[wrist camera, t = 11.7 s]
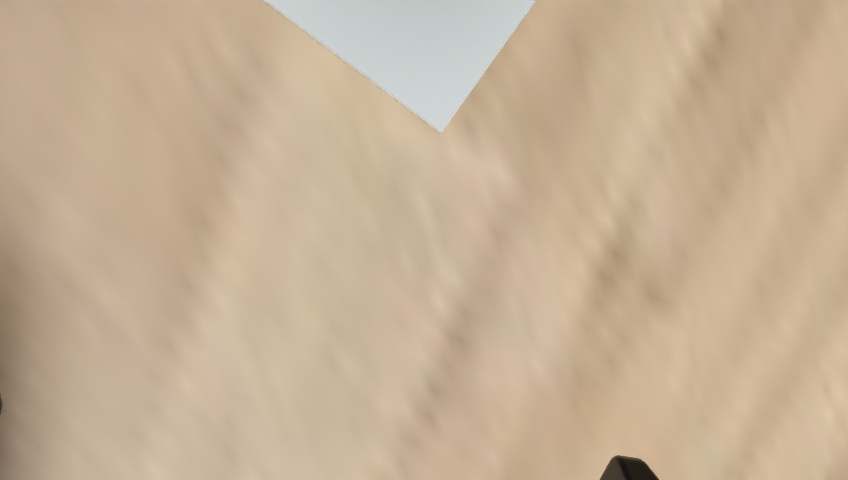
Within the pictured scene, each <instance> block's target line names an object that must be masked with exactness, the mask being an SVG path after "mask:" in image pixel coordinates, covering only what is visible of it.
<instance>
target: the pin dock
mask: <svg viewBox="0 0 848 480" xmlns="http://www.w3.org/2000/svg"><path fill="white" fill-rule="evenodd" d="M263 1H264V2H265V3H267V4H268V5H269V6H271V7H272V8H273V9H275V10H276V11H277V12H279V13H280V14H281V15H283V16H284V17H285V18H287V19H288V20H289V21H291V22H292V23H293V24H295V25H296V26H297V27H299V28H300V29H301V30H303V31H304V32H305V33H307V34H308V35H309V36H311V37H312V38H313V39H315V40H316V41H317V42H319V43H320V44H322V45H323V46H324V47H326V48H327V49H328V50H330V51H331V52H332V53H334V54H335V55H336V56H338V57H339V58H340V59H342V60H343V61H344V62H346V63H347V64H348V65H350V66H351V67H352V68H354V69H355V70H356V71H358V72H359V73H360V74H362V75H363V76H364V77H366V78H367V79H368V80H370V81H371V82H372V83H374V84H375V85H376V86H378V87H379V88H380V89H382V90H383V91H384V92H386V93H387V94H388V95H390V96H391V97H392V98H394V99H395V100H396V101H398V102H399V103H400V104H402V105H403V106H404V107H406V108H407V109H408V110H410V111H411V112H412V113H414V114H415V115H416V116H418V117H419V118H420V119H422V120H423V121H424V122H426V123H427V124H428V125H430V126H432V127H433V128H435V129H436V130H438V131H440V132H442V131H443V130H444V128H445V127H446V125H447V124H448V123H449V121H450V120H451V118H452V117H453V116H454V114H455V113H456V111H457V110H458V109H459V107H460V106H461V104H462V103H463V102H464V100H465V99H466V97H467V96H468V95H469V93H470V92H471V90H472V89H473V88H474V86H475V85H476V83H477V82H478V81H479V79H480V78H481V76H482V75H483V74H484V72H485V71H486V69H487V68H488V67H489V65H490V64H491V62H492V61H493V60H494V58H495V57H496V55H497V54H498V53H499V51H500V50H501V48H502V47H503V46H504V44H505V43H506V41H507V40H508V39H509V37H510V36H511V34H512V33H513V32H514V30H515V29H516V27H517V26H518V25H519V23H520V22H521V20H522V19H523V18H524V16H525V15H526V14H527V12H528V11H529V9H530V8H531V7H532V5H533V4H534V2H535V1H536V0H263Z"/></svg>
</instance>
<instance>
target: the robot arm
mask: <svg viewBox="0 0 848 480" xmlns="http://www.w3.org/2000/svg"><path fill="white" fill-rule="evenodd" d="M1 411H2V398H1V394H0V415H1ZM600 480H659V479H658V477H657V476H656V475H655V474H654V473H653V471H652V470H651V469H650V468H649V466H648V465H647V464H646V463H645V462H644V461H642V460H641V459H638V458H633V457H627V456H620V455H618V456H615V457H613V458H612V459H611V460H610V462H609V464H608V466H607V467H606V469H605V471H604V473H603V475H602V476H601V478H600Z"/></svg>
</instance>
